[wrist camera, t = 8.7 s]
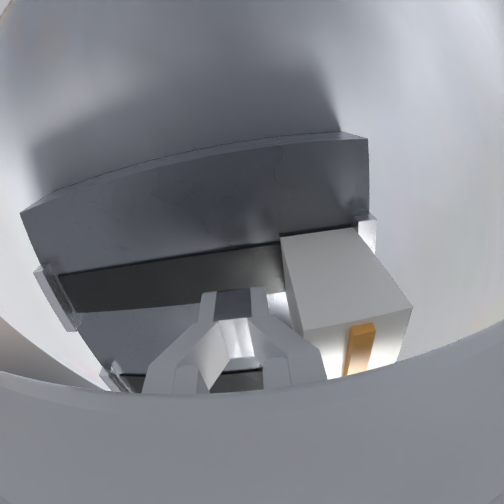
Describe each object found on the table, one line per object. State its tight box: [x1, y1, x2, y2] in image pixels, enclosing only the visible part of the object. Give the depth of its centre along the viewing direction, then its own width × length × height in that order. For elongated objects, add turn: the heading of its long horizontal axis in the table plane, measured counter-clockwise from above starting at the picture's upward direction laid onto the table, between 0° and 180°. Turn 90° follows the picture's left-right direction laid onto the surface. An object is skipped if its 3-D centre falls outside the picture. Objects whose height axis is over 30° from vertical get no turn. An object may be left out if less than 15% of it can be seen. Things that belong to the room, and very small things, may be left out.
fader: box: [280, 227, 413, 379], centre depth 9 cm, size 3×3×5 cm
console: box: [20, 131, 377, 394], centre depth 15 cm, size 18×16×4 cm
